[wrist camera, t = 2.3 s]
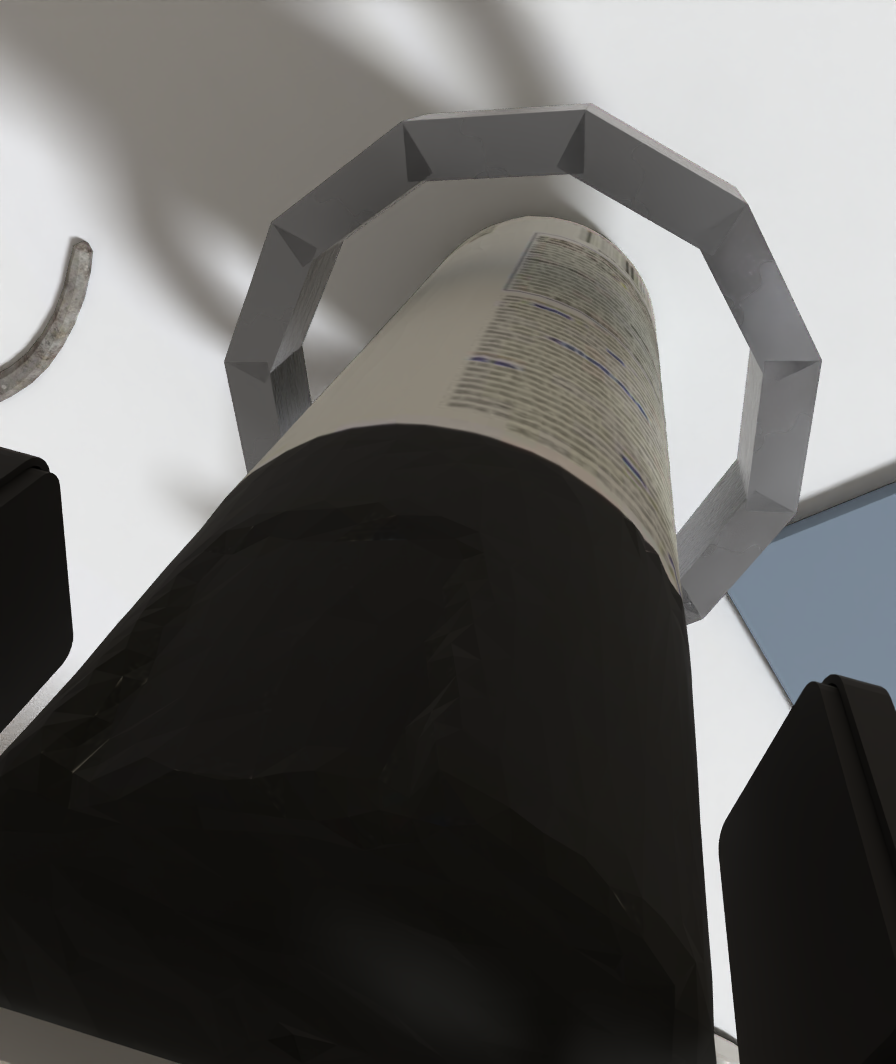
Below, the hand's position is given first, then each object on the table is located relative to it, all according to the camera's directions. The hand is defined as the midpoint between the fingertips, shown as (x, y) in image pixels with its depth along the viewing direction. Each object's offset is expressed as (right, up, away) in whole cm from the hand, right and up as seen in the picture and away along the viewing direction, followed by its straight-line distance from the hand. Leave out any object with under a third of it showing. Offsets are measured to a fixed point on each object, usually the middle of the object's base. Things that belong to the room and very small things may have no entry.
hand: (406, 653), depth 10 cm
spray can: (+3, +7, +13) cm, 16 cm away
